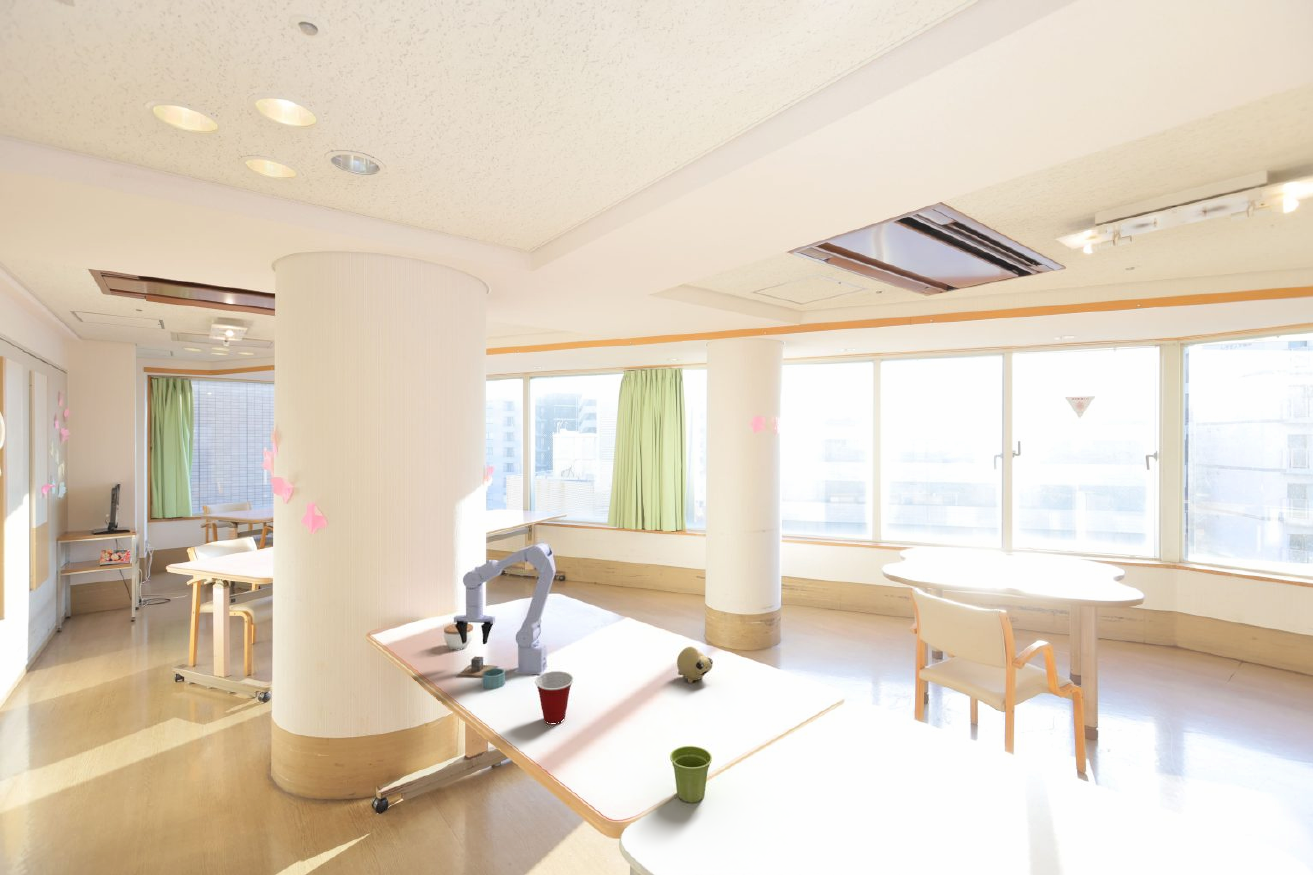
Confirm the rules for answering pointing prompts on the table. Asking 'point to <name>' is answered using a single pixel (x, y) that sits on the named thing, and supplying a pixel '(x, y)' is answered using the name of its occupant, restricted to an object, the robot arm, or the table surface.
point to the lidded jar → (457, 636)
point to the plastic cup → (554, 694)
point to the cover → (476, 668)
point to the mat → (470, 677)
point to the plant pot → (690, 772)
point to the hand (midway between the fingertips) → (474, 643)
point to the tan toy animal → (693, 664)
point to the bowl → (493, 678)
